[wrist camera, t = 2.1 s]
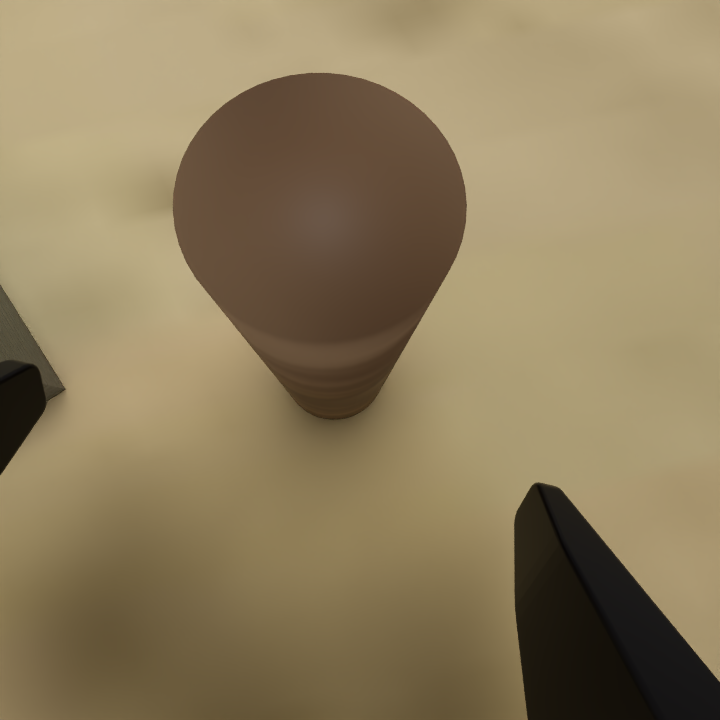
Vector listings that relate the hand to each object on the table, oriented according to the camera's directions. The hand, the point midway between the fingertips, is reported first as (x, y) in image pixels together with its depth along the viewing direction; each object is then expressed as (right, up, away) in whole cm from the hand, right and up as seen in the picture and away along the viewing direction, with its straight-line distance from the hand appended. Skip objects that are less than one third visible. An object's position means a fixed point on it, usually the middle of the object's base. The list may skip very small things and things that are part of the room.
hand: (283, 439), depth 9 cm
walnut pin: (0, +1, +11) cm, 11 cm away
